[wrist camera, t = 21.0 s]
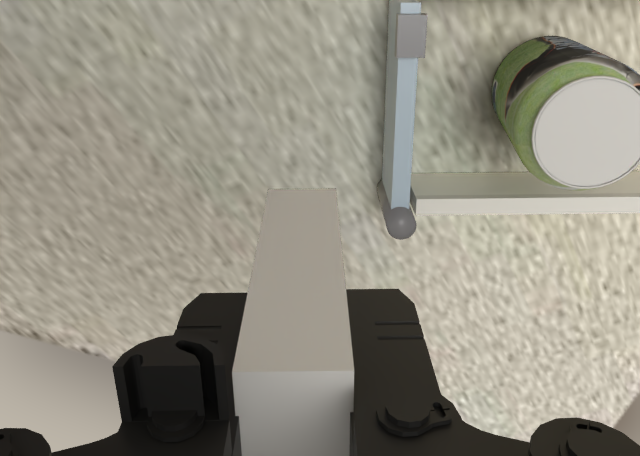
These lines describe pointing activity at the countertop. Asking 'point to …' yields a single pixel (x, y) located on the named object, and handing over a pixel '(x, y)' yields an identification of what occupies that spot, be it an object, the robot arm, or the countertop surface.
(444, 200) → the grey low-walled frame
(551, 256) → the countertop surface
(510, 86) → the beverage can
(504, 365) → the countertop surface
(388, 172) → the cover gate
